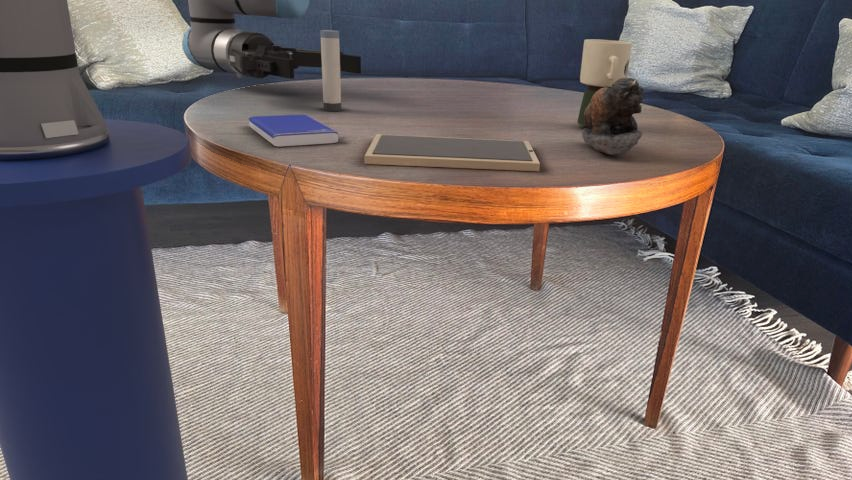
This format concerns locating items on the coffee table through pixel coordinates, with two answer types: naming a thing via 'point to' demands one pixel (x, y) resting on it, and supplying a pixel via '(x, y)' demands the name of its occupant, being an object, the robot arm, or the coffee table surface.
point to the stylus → (331, 70)
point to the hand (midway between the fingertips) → (327, 67)
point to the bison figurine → (614, 117)
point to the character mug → (602, 67)
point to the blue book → (292, 130)
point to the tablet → (452, 153)
